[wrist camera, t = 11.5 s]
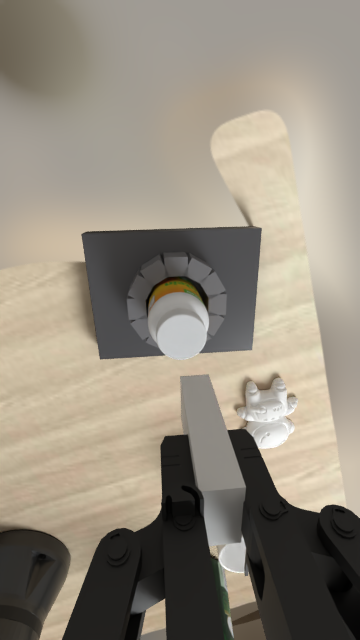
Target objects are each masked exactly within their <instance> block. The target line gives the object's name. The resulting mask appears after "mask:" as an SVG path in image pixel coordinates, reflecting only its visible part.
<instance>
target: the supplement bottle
mask: <svg viewBox="0 0 360 640" xmlns="http://www.w3.org/2000/svg"><path fill="white" fill-rule="evenodd" d="M208 327H209V317H208V312H207V310H206V307H205V305H204V303H203V301H202V299H201V297H200V295H199V293H198V291H197V289H196V287H195V286H194V284H193V283H192V282H191V281H190V280H188V279H187V278H185V277H182V276H174V277H167V278H165V279H164V280H162V281H160V282H159V283H157V284H156V285H154V286H153V288H152V290H151V292H150V295H149V308H148V328H149V332H150V334H151V336H152V338H153V339H154V341H155V342H156V343H157V344H158V347H159V349H160V350H161V351H162V352H163V353H164V354H165V355H166V356H168V357H170V358H173V359H177V360H184V359H189V358H191V357H193V356H195V355H197V354H198V353H199V352H200V351H201V350H202V349H203V347H204V345H205V343H206V339H207V331H208Z"/></svg>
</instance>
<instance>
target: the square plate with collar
mask: <svg viewBox="0 0 360 640" xmlns="http://www.w3.org/2000/svg"><path fill="white" fill-rule="evenodd" d="M261 230H262V228H259V227H255V226H248V227H217V228H188V229H187V228H186V229H158V230H157V229H154V230H124V231H92V232H85V233H83V234H82V240H83V248H84V254H85V261H86V268H87V275H88V282H89V288H90V295H91V302H92V309H93V315H94V322H95V329H96V336H97V343H98V349H99V356H100V359H114V358H131V357H147V356H163V355H165V354H164V353H163V352H162V351H161V350H160V349H159V347H158V344H157V343H156V342H155V341H154V339H153V338H152V336H151V334H150V332H149V328H148V308H149V295H150V292H151V290H152V288H153V286H154V285H156V284H157V283H159V282H160V281H162V280H164V279H165V278H167V277H174V276H182V277H185V278H187V279H188V280H190V281H191V282H192V283H193V284H194V286H195V287H196V289H197V291H198V293H199V295H200V297H201V299H202V301H203V303H204V305H205V307H206V310H207V312H208V317H209V327H208V331H207V339H206V343H205V345H204V347H203V349H202V350H201V351H200V352H199V353H212V352H228V351H244V350H252V344H253V332H254V319H255V306H256V294H257V281H258V268H259V256H260V243H261Z"/></svg>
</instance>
